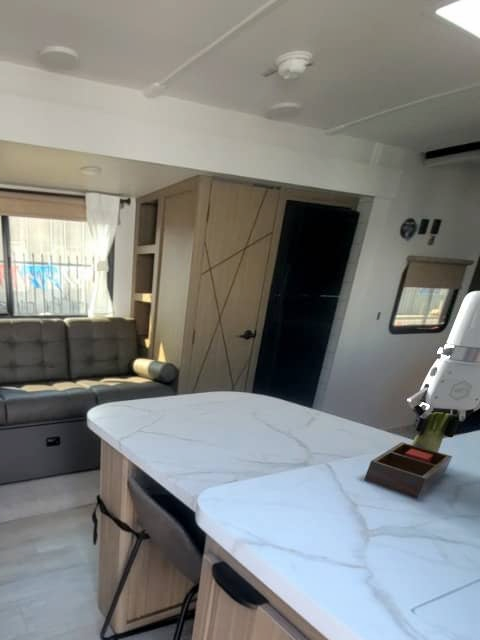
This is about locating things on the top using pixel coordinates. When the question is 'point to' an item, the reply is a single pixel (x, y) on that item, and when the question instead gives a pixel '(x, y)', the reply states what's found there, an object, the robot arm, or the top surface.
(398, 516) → the top surface
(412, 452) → the red block
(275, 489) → the top surface
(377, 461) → the tray
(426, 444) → the fennel bulb
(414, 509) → the top surface
